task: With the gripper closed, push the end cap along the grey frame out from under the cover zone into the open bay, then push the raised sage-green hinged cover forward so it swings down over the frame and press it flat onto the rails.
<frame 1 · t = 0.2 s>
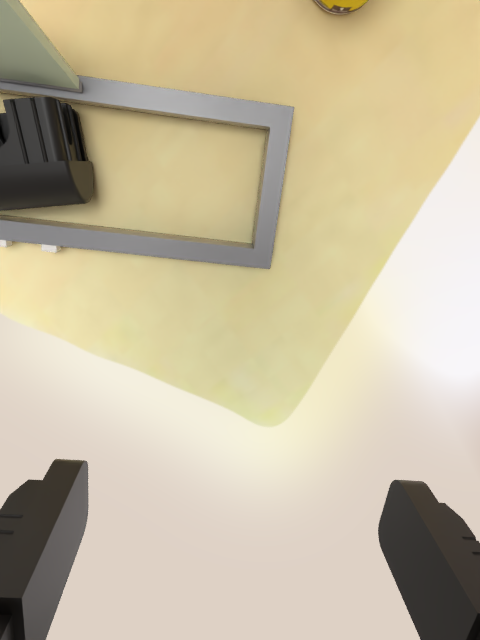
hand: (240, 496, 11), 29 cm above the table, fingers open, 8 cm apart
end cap: (33, 160, 35), on the table
grey frame: (118, 171, 35), on the table
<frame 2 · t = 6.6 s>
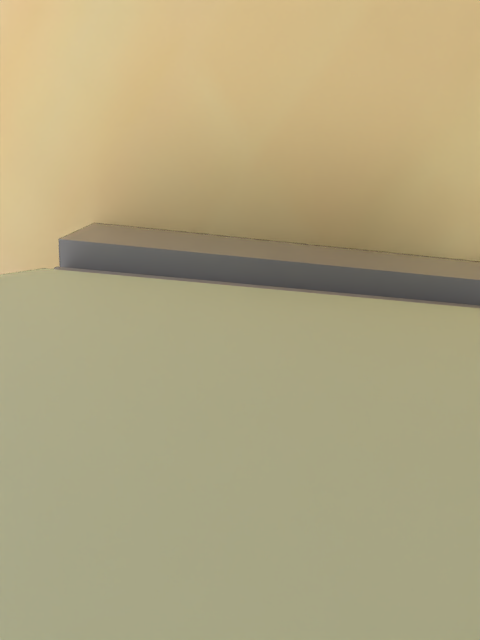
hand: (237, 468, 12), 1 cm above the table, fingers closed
lid: (472, 381, 3), point 8 cm above the table, hinge at 100.0°
grey frame: (466, 454, 14), on the table
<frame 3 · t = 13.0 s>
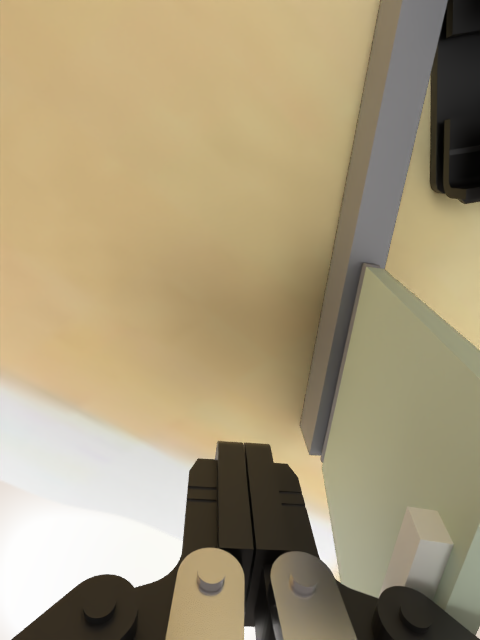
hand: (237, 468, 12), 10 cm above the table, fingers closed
lid: (367, 447, 13), point 9 cm above the table, hinge at 97.7°, touching gripper
grey frame: (471, 219, 20), on the table
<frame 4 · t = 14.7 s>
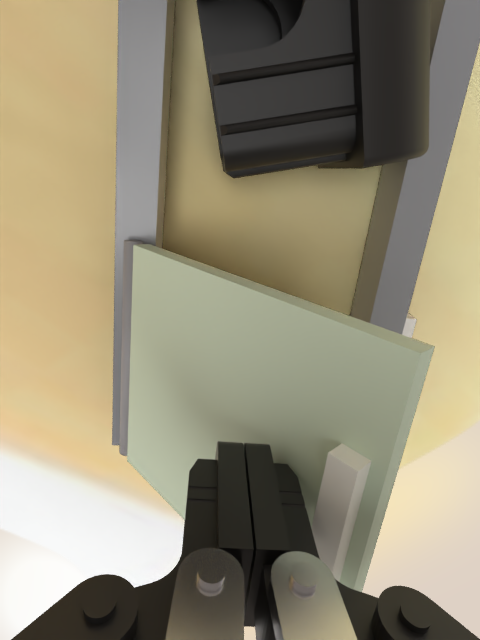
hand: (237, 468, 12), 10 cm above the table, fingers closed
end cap: (290, 41, 17), on the table
lid: (209, 420, 14), point 7 cm above the table, hinge at 48.9°, touching gripper
grey frame: (271, 196, 19), on the table
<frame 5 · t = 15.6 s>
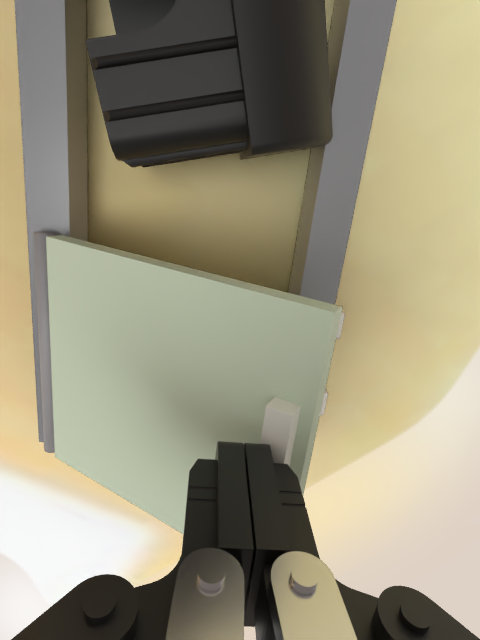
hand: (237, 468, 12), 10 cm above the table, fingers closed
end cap: (209, 29, 17), on the table
lid: (146, 399, 15), point 6 cm above the table, hinge at 32.9°
grey frame: (197, 189, 18), on the table
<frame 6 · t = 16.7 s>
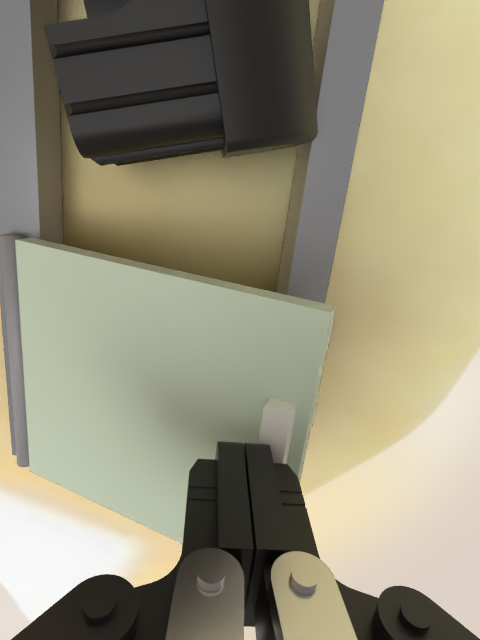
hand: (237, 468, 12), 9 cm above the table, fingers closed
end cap: (188, 19, 16), on the table
lid: (132, 406, 14), point 6 cm above the table, hinge at 26.5°, touching gripper
grey frame: (178, 188, 17), on the table
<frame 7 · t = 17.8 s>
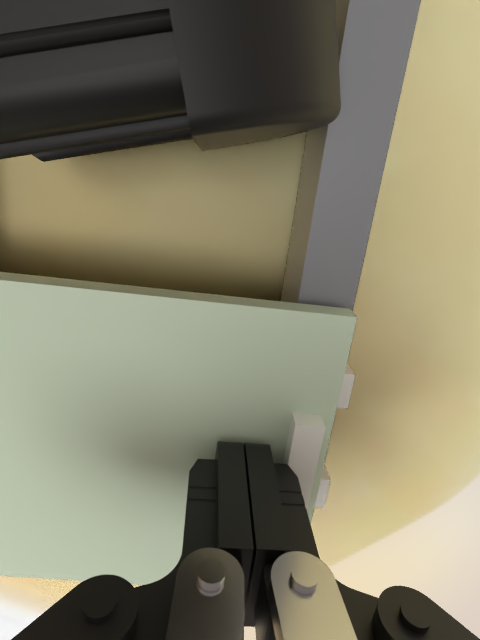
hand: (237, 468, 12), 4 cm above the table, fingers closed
lid: (115, 456, 12), point 3 cm above the table, hinge at 1.9°, touching gripper
grey frame: (142, 194, 13), on the table
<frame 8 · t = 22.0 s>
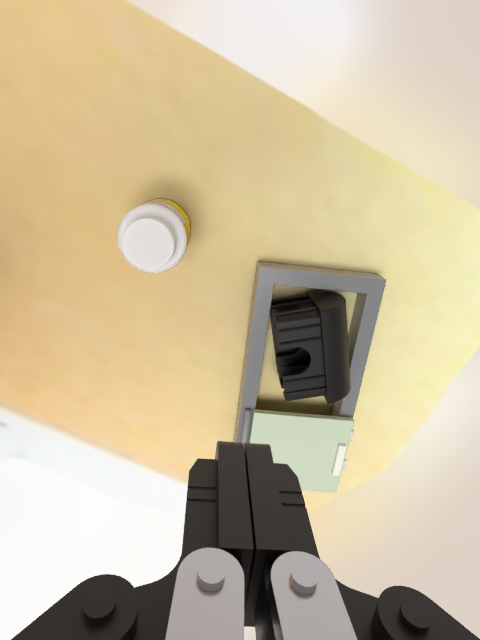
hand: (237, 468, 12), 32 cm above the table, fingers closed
supplement bottle: (163, 226, 41), on the table
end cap: (304, 333, 46), on the table
lid: (292, 453, 47), point 3 cm above the table, hinge at 1.5°
grey frame: (296, 383, 48), on the table
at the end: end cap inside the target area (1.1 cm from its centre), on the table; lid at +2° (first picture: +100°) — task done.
